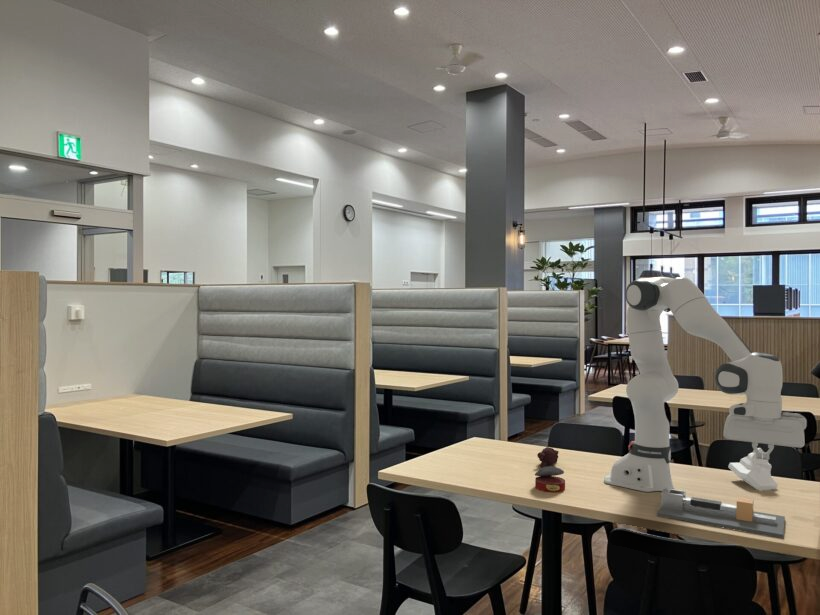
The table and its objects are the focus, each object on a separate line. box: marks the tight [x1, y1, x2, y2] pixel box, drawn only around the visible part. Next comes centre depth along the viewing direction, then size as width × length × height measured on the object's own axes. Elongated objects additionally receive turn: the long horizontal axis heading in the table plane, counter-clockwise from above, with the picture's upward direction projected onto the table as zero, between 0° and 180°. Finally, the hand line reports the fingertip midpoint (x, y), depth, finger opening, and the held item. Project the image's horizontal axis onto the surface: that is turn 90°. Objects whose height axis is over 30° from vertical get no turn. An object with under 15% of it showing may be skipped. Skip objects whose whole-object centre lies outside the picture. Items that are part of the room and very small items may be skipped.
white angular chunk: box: [728, 447, 779, 492], centre depth 223 cm, size 12×15×14 cm
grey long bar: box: [660, 488, 776, 525], centre depth 188 cm, size 30×6×4 cm, turn 59°
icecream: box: [537, 446, 559, 469], centre depth 248 cm, size 7×7×15 cm
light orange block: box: [736, 496, 755, 522], centre depth 184 cm, size 4×5×5 cm
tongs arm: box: [683, 496, 737, 512], centre depth 189 cm, size 21×3×2 cm, turn 59°
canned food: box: [534, 465, 566, 493], centre depth 216 cm, size 11×10×10 cm
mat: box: [656, 506, 786, 539], centre depth 188 cm, size 32×18×1 cm, turn 59°
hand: (762, 458), depth 182 cm, fingers closed
